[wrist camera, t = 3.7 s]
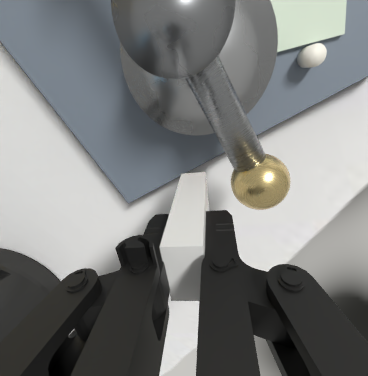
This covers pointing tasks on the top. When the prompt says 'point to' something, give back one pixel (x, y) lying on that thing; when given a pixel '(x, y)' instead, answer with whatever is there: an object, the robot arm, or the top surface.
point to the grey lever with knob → (206, 78)
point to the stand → (132, 113)
